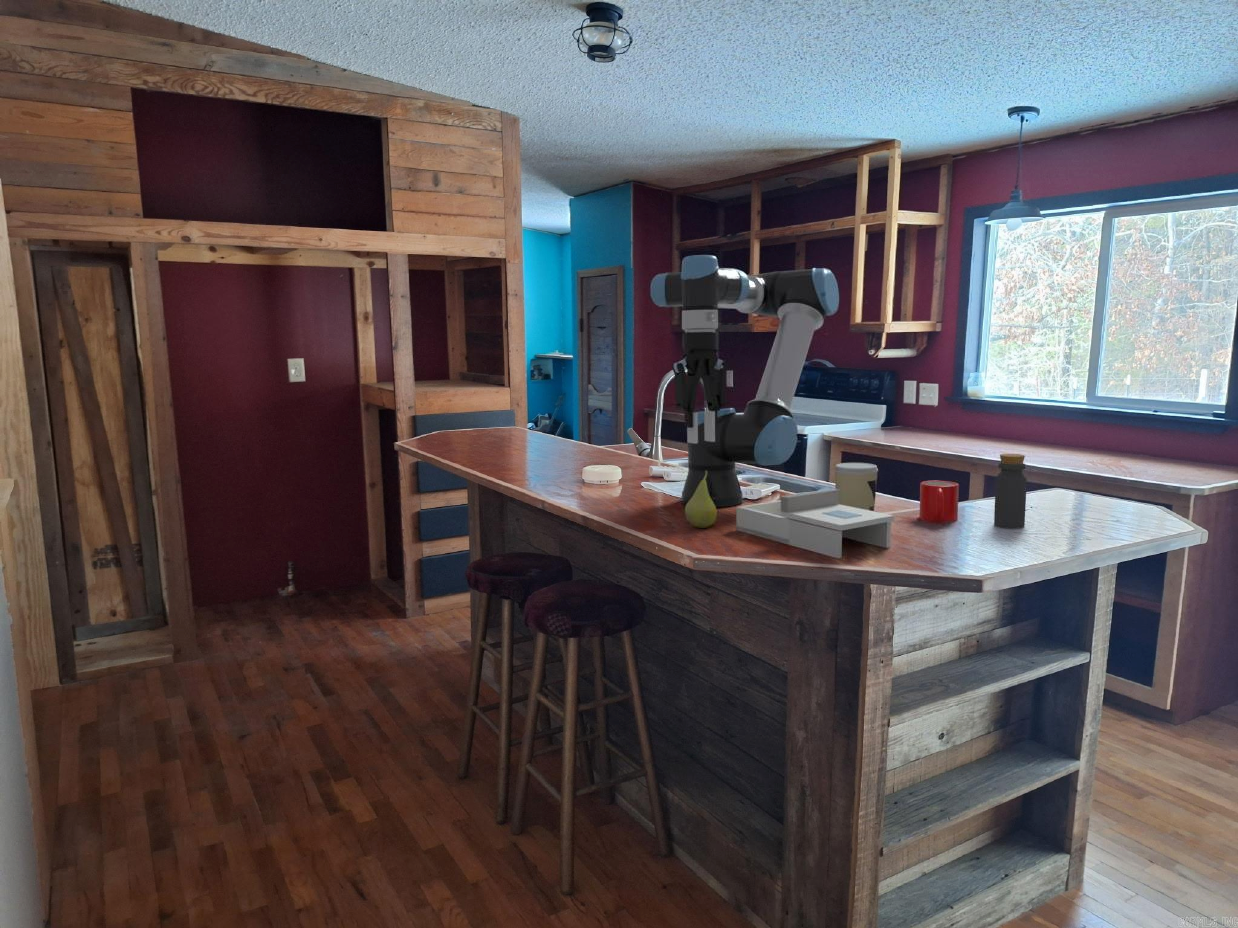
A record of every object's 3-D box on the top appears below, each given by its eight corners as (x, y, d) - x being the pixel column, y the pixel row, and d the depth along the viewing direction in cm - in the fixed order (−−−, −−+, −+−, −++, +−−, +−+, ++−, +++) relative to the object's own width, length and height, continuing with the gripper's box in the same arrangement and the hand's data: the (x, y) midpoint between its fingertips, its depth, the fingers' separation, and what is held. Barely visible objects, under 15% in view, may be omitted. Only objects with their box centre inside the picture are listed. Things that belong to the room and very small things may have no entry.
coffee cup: (879, 523, 181) (880, 468, 179) (834, 522, 182) (835, 468, 181) (874, 514, 190) (876, 462, 188) (832, 514, 191) (833, 462, 190)
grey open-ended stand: (736, 530, 178) (736, 506, 177) (786, 521, 185) (786, 499, 184) (837, 558, 153) (838, 531, 152) (890, 547, 160) (890, 521, 159)
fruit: (681, 529, 179) (680, 474, 178) (691, 522, 186) (691, 469, 184) (711, 531, 177) (711, 475, 175) (721, 524, 184) (720, 470, 182)
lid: (780, 516, 165) (780, 496, 165) (831, 507, 172) (832, 488, 172) (840, 530, 152) (841, 509, 151) (893, 520, 159) (894, 500, 158)
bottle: (1000, 521, 180) (1003, 452, 178) (1028, 525, 176) (1032, 454, 174) (989, 525, 176) (992, 455, 174) (1018, 529, 172) (1021, 457, 170)
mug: (921, 525, 178) (922, 489, 177) (918, 514, 189) (919, 480, 188) (961, 527, 176) (962, 490, 175) (955, 515, 187) (957, 480, 186)
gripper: (677, 331, 168) (679, 447, 171) (743, 330, 177) (743, 440, 180) (656, 332, 174) (658, 443, 178) (720, 331, 183) (721, 437, 186)
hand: (701, 441), depth 179 cm, fingers open, 4 cm apart
